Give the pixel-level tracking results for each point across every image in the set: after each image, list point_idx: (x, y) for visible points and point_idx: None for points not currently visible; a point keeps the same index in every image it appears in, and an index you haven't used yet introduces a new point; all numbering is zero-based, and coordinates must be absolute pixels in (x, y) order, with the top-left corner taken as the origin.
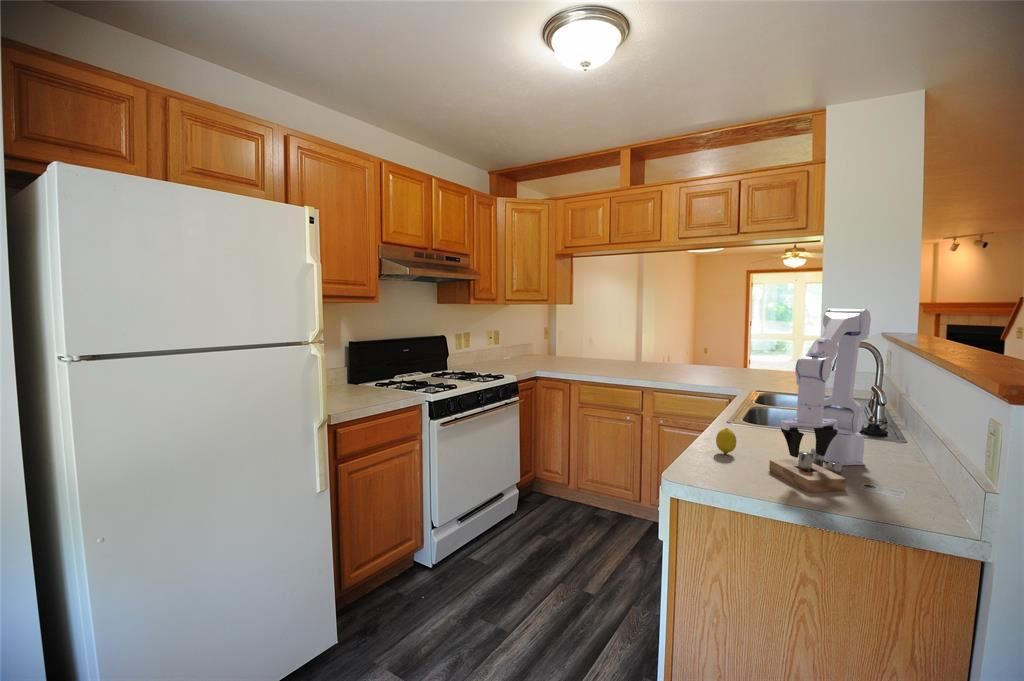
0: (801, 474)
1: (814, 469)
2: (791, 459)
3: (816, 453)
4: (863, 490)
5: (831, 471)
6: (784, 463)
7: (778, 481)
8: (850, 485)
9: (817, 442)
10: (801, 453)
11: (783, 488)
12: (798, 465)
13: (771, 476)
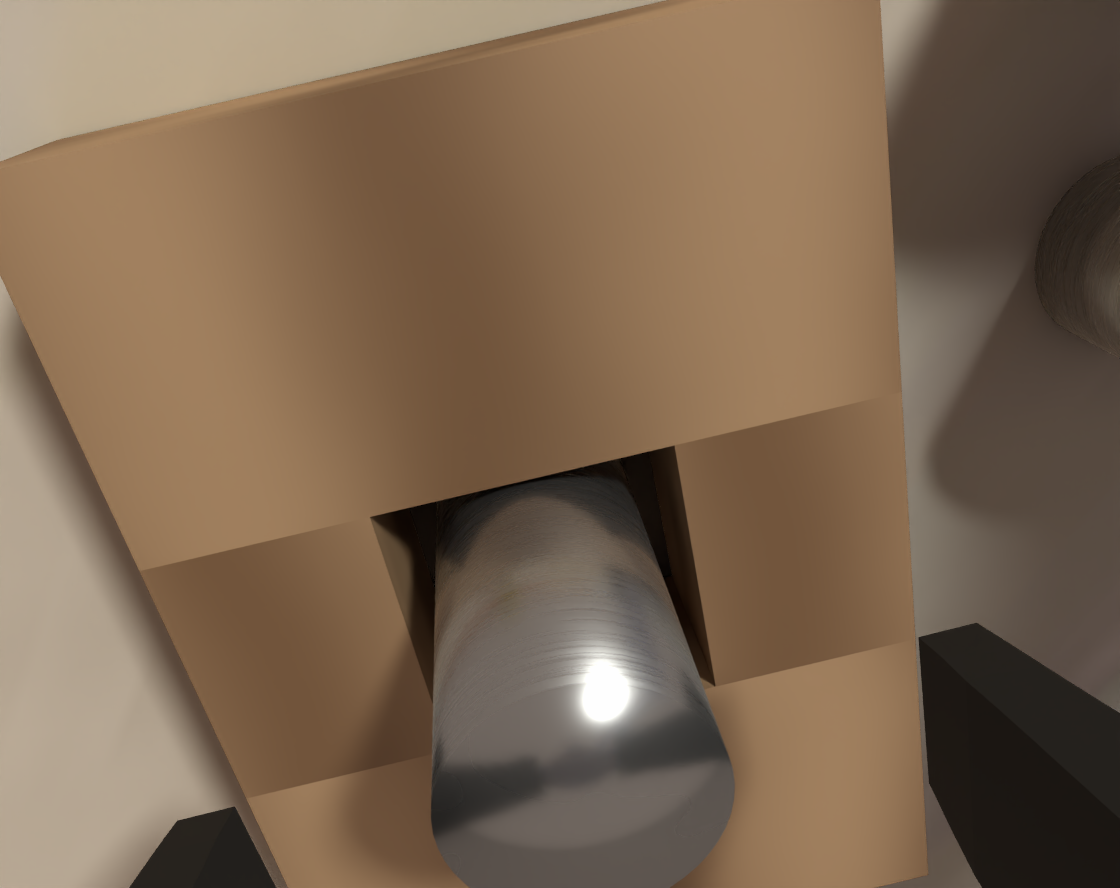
0: (339, 849)
1: (698, 602)
2: (539, 67)
3: (922, 644)
4: None
5: (1100, 329)
6: (247, 378)
7: (88, 606)
8: (1056, 588)
9: (1118, 879)
10: (463, 837)
11: (84, 815)
12: (437, 595)
13: (29, 421)
